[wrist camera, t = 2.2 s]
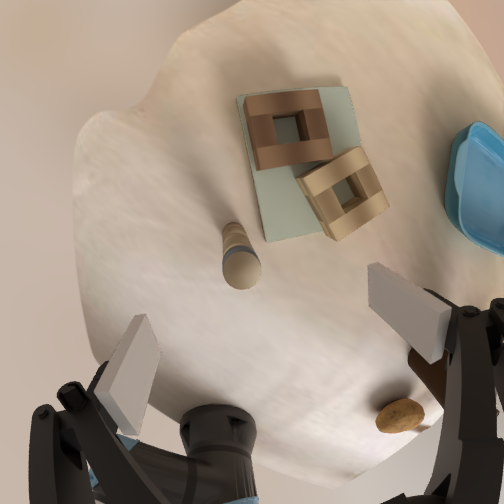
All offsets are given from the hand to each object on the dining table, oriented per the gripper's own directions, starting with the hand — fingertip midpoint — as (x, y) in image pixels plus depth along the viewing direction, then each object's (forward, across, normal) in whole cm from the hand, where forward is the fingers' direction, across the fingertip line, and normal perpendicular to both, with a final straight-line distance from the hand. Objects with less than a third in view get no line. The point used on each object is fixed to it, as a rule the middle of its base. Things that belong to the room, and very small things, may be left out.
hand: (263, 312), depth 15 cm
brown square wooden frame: (+22, +8, +12) cm, 26 cm away
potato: (+23, +27, -48) cm, 59 cm away
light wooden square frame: (+22, +14, +3) cm, 26 cm away
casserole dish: (+23, +51, -1) cm, 56 cm away
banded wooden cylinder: (+23, -1, 0) cm, 23 cm away
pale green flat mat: (+23, +11, +8) cm, 27 cm away
